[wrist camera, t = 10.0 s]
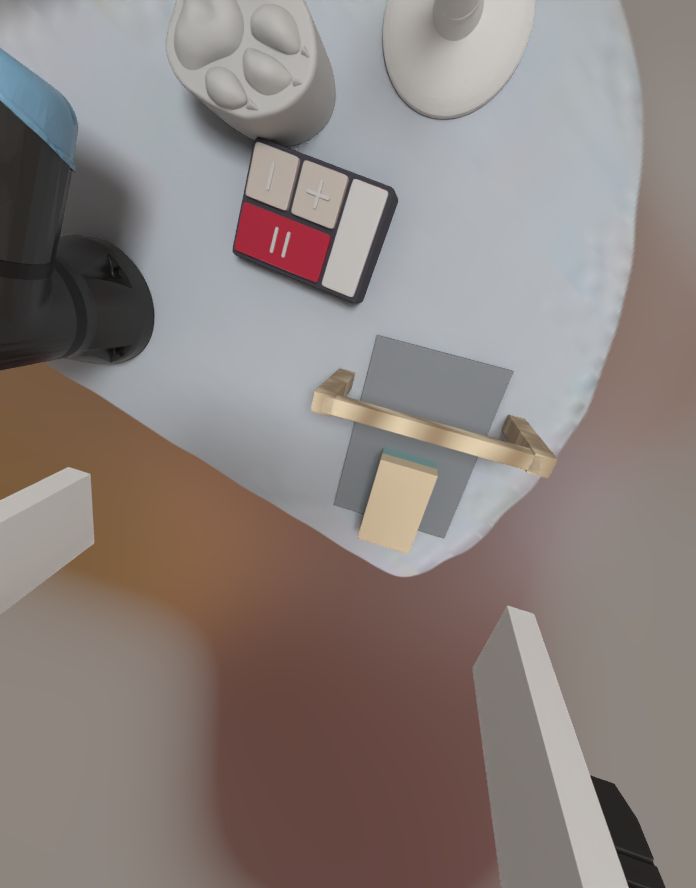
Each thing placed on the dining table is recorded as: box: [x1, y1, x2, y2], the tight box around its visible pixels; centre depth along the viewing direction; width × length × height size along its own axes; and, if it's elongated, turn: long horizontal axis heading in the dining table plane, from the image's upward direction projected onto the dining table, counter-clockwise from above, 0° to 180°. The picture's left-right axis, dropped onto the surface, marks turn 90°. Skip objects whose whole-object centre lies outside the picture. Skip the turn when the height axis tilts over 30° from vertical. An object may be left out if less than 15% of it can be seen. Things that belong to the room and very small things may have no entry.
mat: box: [334, 335, 514, 538], centre depth 48 cm, size 16×24×1 cm, turn 167°
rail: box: [311, 369, 558, 478], centre depth 40 cm, size 23×2×12 cm, turn 77°
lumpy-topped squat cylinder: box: [166, 0, 336, 147], centre depth 33 cm, size 10×13×9 cm
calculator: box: [233, 137, 398, 303], centre depth 40 cm, size 11×4×15 cm
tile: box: [358, 447, 438, 554], centre depth 49 cm, size 7×12×4 cm, turn 167°
